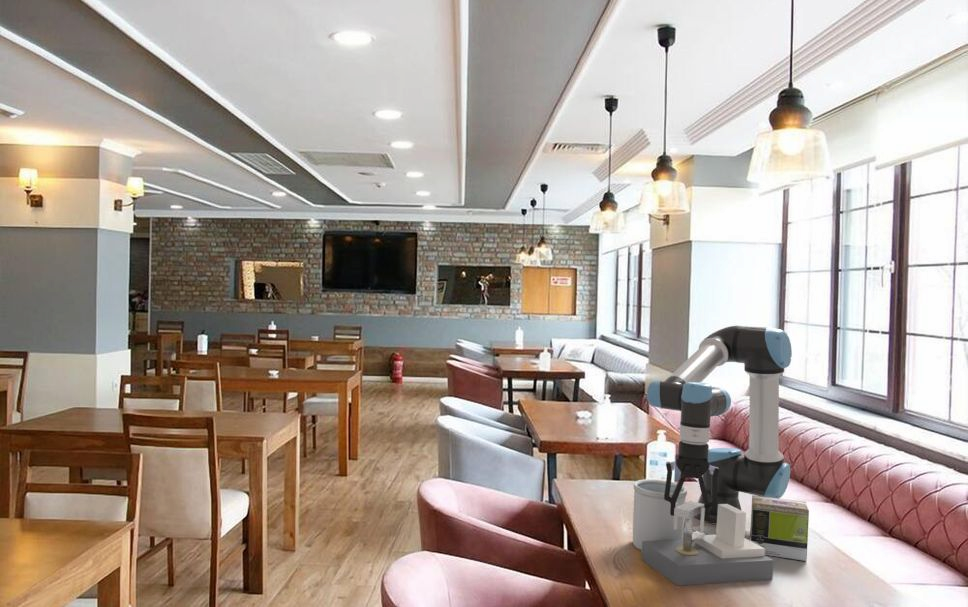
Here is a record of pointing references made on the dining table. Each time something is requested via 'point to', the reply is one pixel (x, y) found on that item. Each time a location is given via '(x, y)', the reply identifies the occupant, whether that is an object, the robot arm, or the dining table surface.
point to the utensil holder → (655, 512)
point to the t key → (689, 522)
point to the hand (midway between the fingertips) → (688, 529)
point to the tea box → (780, 527)
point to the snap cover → (730, 535)
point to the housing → (702, 564)
